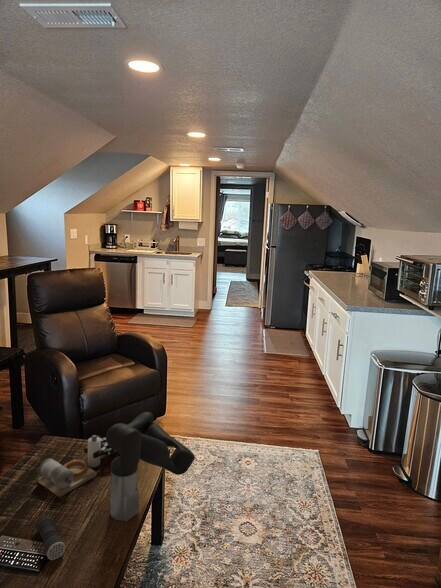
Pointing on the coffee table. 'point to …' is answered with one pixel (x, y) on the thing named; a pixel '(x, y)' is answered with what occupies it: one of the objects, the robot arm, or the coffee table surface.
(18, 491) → the coffee table surface
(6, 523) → the coffee table surface
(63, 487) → the motor mount
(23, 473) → the coffee table surface
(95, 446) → the white capped bottle
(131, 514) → the robot arm
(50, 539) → the flashlight
